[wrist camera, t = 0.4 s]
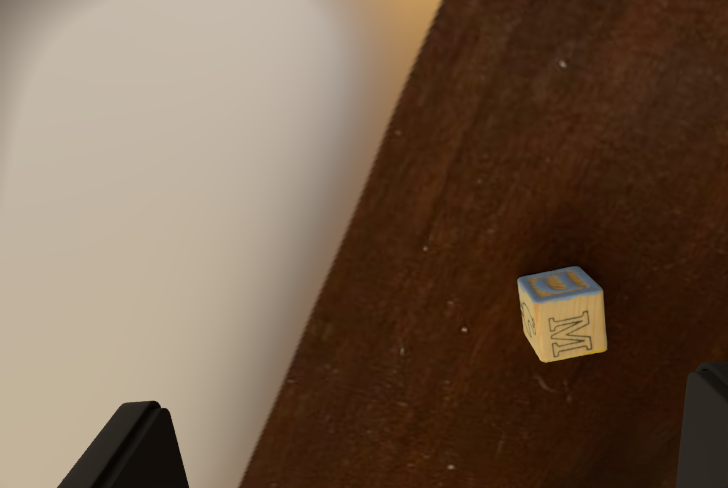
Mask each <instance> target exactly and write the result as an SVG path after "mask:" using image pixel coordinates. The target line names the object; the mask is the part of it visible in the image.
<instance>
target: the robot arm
mask: <svg viewBox="0 0 728 488" xmlns="http://www.w3.org/2000/svg"><path fill="white" fill-rule="evenodd" d="M57 488H189V485H188V481H187V477H186V473H185V469H184V466H183V462H182V458H181V454H180V451H179V446H178V442H177V438H176V434H175V430H174V426H173V423H172V419H171V415H170V412H169V411H168V409H166V408H161V406H160V405H159V403H158V402H156V401H143V402H129V403H124V404H122V405H121V406H120V407H119V408H118V410H117V411H116V412H115V413H114V415H113V416H112V417H111V419H110V420H109V421H108V423H107V424H106V425H105V426H104V428H103V429H102V430H101V432H100V433H99V434H98V435H97V437H96V438H95V439H94V441H93V442H92V443H91V445H90V446H89V447H88V448H87V450H86V451H85V452H84V454H83V455H82V456H81V458H80V459H79V460H78V461H77V463H76V464H75V465H74V467H73V468H72V469H71V470H70V472H69V473H68V474H67V476H66V477H65V478H64V479H63V481H62V482H61V484H60V485H59V486H58V487H57ZM676 488H728V361H717V362H703V363H701V364H699V366H698V367H697V369H696V372H691V373H690V374H689V375H688V378H687V385H686V395H685V404H684V414H683V423H682V432H681V442H680V451H679V461H678V470H677V479H676Z"/></svg>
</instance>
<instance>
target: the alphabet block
mask: <svg viewBox="0 0 728 488" xmlns="http://www.w3.org/2000/svg"><path fill="white" fill-rule="evenodd" d="M517 282H518V290H519V297H520V304H521V312H522V320H523V327H524V333H525V335H526V337H527V338H528V340H529V342H530V343H531V345H532V347H533V348H534V350H535V352H536V354H537V355H538V357H539V359H540V360H541V361H542V362H552V361H556V360H563V359H566V358H571V357H577V356H583V355H587V354H593V353H599V352H604V351H606V350H607V338H606V327H605V313H604V299H603V290H602V288H601V287H600V286H599V285H598V284H597V283H596V282H595V281H594V280H593V279H592V278H591V277H589V276H588V275H587V274H586V273H585V272H584V271H583V270H582V269H581V268H580V267H577V266H573V267H568V268H563V269H558V270H554V271H548V272H543V273H538V274H533V275H528V276H523V277H520V278H518V280H517Z"/></svg>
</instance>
